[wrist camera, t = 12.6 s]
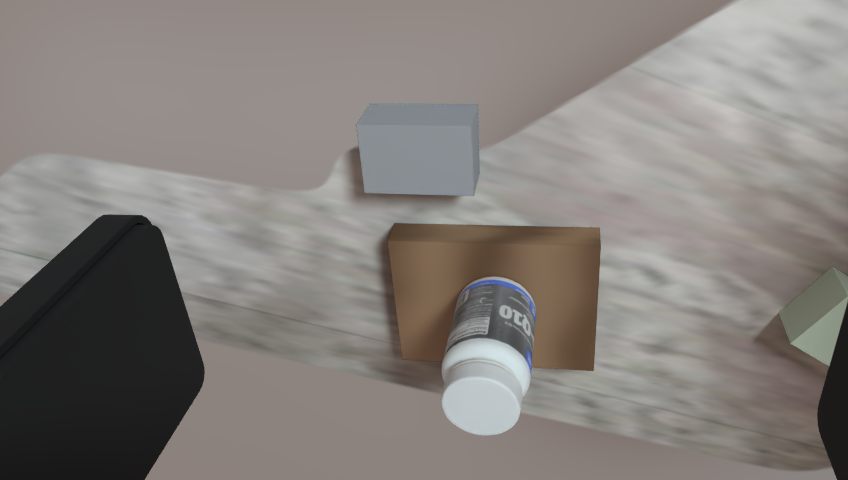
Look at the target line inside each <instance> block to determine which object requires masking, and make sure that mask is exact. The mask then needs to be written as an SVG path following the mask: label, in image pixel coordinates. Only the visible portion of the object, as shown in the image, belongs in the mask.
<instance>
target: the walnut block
mask: <svg viewBox="0 0 848 480" xmlns="http://www.w3.org/2000/svg"><path fill="white" fill-rule="evenodd" d="M387 242H388V250H389V257H390V265H391V273H392V281H393V289H394V297H395V305H396V313H397V321H398V329H399V337H400V345H401V353H402V360H419V361H435V362H443V358H444V354H445V350H446V346H447V342H448V338H449V334H450V330H451V325H452V321H453V317H454V312H455V309H456V304H457V301H458V298H459V295H460V293H461V292H462V290H463V289H464V288H465V287H466V286H467V285H468V284H470V283H471V282H473V281H475V280H478V279H481V278H485V277H503V278H507V279H510V280H512V281H514V282H516V283H519V284H520V285H521V286H523V287H524V288H525V289H526V290H527V292H528V293H529V294H530V296H531V297H532V299H533V301H534V304H535V309H536V321H535V332H534V344H533V354H532V367H536V368H553V369H570V370H587V371H594V355H595V337H596V320H597V302H598V285H599V268H600V250H601V243H600V228H582V227H536V226H491V225H446V224H401V223H395V224H394V226H393V229H392V231H391V234H390V236H389V238H388V241H387Z"/></svg>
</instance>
